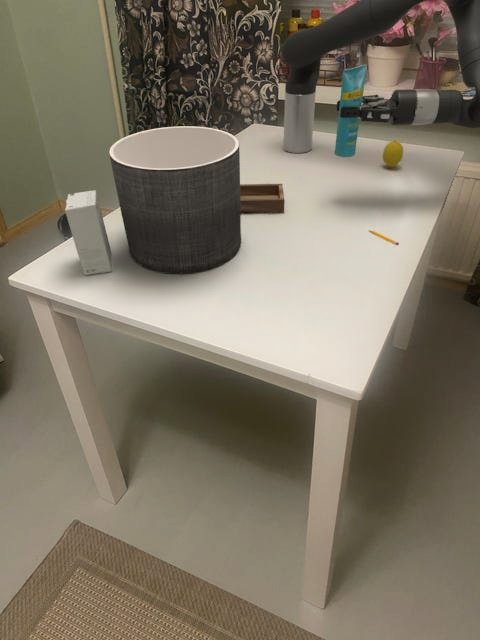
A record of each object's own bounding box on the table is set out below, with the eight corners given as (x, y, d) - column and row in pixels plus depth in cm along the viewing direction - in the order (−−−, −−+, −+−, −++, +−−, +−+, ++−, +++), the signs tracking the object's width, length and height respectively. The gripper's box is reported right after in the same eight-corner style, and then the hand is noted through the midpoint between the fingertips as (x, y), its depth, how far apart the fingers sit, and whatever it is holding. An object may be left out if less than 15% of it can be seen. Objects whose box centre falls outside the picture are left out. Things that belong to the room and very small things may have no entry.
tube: (343, 160, 112) (353, 71, 100) (327, 156, 115) (335, 68, 102) (362, 152, 116) (373, 65, 104) (345, 148, 118) (355, 62, 106)
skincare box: (112, 272, 98) (97, 205, 89) (82, 276, 97) (63, 209, 88) (111, 252, 104) (97, 188, 95) (83, 256, 103) (66, 191, 94)
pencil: (396, 246, 104) (397, 243, 103) (366, 232, 109) (367, 229, 109) (398, 245, 104) (399, 242, 104) (368, 231, 110) (369, 228, 109)
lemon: (402, 166, 140) (407, 138, 135) (396, 172, 136) (401, 144, 131) (384, 163, 142) (389, 135, 137) (378, 169, 138) (382, 141, 133)
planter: (106, 262, 101) (81, 160, 87) (163, 212, 119) (150, 121, 106) (214, 285, 93) (206, 177, 80) (257, 228, 112) (257, 132, 98)
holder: (236, 197, 125) (236, 184, 123) (281, 196, 125) (282, 183, 123) (235, 213, 118) (235, 200, 116) (283, 213, 117) (284, 199, 115)
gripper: (408, 82, 111) (335, 83, 112) (425, 97, 100) (345, 99, 101) (402, 115, 116) (332, 117, 116) (418, 134, 105) (341, 135, 105)
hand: (339, 109), depth 108 cm, fingers closed on tube, 4 cm apart
